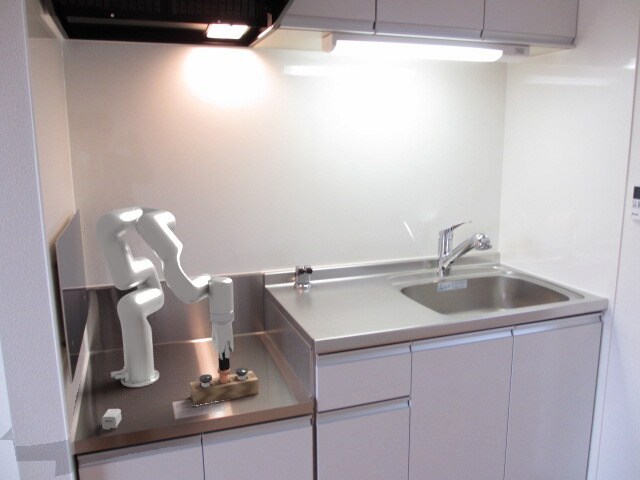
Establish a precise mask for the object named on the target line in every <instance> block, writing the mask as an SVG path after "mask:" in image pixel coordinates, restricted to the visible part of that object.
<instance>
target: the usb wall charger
mask: <svg viewBox="0 0 640 480" xmlns="http://www.w3.org/2000/svg"><path fill="white" fill-rule="evenodd" d="M121 421H122V410H121V409H120V408H108V409H107V410H106V412H105V413H104V414H103V416H102V417H101V425H102V429H103V430H111V429H110V428H116V429H117V428H118V426H119V424H120V423H121Z"/></svg>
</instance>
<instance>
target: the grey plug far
mask: <svg viewBox="0 0 640 480" xmlns="http://www.w3.org/2000/svg"><path fill="white" fill-rule="evenodd" d="M248 371H249V369H248V368H246V367H239V368H238V367H237V368H236V369H235V374H237V380H238V381H240V380H245V379H247V378H246V374H247V373H248Z"/></svg>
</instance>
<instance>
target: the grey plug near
mask: <svg viewBox="0 0 640 480" xmlns="http://www.w3.org/2000/svg"><path fill="white" fill-rule="evenodd" d="M198 378H199V379H198V381H200V382H201V388H205V387H210V386H211V380H212V378H213V375H211V374H202V375H200V376H199V377H198Z"/></svg>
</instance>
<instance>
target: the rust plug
mask: <svg viewBox="0 0 640 480" xmlns="http://www.w3.org/2000/svg"><path fill="white" fill-rule="evenodd" d="M230 372H231V368H230V369H229V370H224V371H220V369H219V367H218V368H217V373H218V375H219V376H218V377H219V380H220V384H225V383H229V375H230V374H229V373H230Z"/></svg>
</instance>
